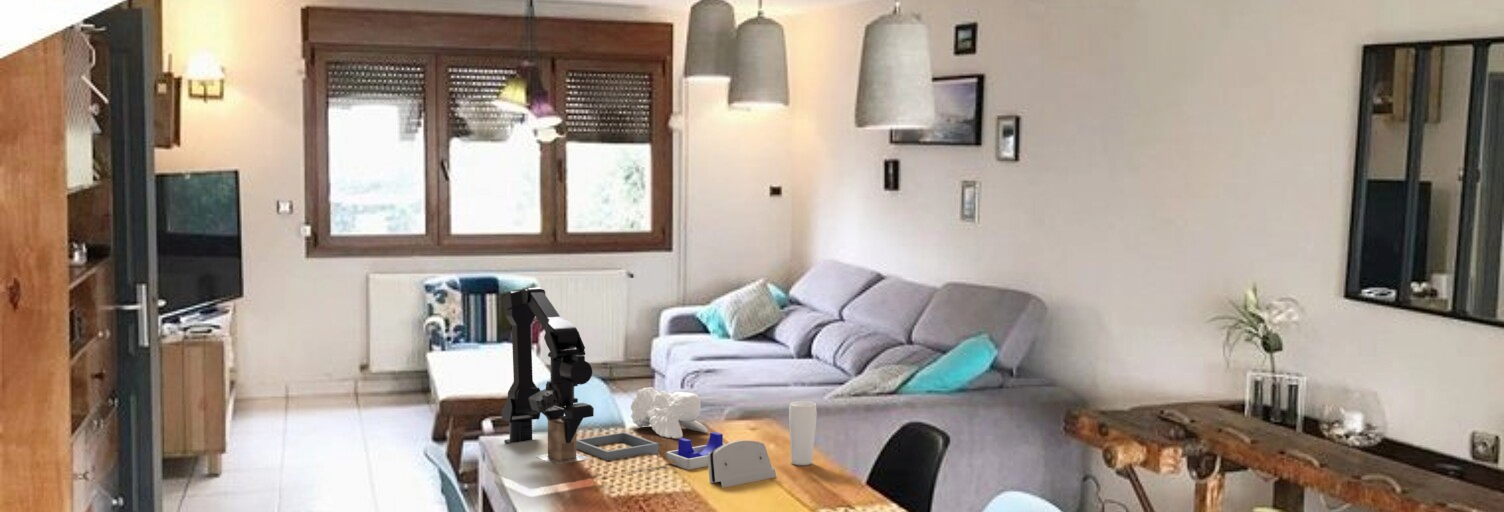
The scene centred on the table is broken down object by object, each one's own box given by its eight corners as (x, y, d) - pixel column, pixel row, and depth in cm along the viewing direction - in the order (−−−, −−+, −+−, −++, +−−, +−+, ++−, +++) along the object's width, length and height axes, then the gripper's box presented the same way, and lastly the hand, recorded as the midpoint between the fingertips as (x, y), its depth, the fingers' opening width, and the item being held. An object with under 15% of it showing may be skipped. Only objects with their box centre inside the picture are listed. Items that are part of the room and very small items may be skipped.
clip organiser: (665, 461, 317) (665, 451, 317) (720, 452, 328) (720, 442, 328) (687, 469, 310) (687, 459, 310) (743, 459, 321) (743, 449, 321)
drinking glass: (782, 463, 318) (783, 403, 317) (800, 458, 323) (801, 399, 322) (803, 468, 314) (804, 407, 312) (821, 463, 319) (822, 403, 317)
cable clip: (690, 466, 314) (690, 442, 314) (678, 462, 318) (678, 438, 317) (726, 458, 323) (726, 435, 322) (714, 455, 326) (714, 431, 325)
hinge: (722, 487, 295) (713, 444, 297) (710, 490, 299) (702, 447, 300) (777, 476, 306) (769, 434, 307) (765, 479, 309) (757, 438, 311)
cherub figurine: (664, 384, 362) (714, 387, 348) (666, 429, 362) (716, 433, 348) (629, 389, 353) (678, 392, 339) (630, 434, 352) (680, 439, 339)
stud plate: (533, 462, 315) (533, 442, 315) (569, 456, 321) (569, 436, 321) (554, 470, 307) (554, 450, 307) (590, 464, 314) (590, 444, 313)
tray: (573, 453, 324) (574, 439, 324) (624, 445, 334) (624, 432, 333) (606, 466, 312) (606, 452, 312) (658, 457, 322) (658, 443, 322)
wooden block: (547, 456, 314) (547, 420, 313) (565, 453, 318) (565, 417, 317) (559, 460, 311) (559, 423, 310) (577, 457, 314) (577, 421, 313)
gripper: (513, 375, 314) (513, 438, 315) (556, 387, 300) (555, 453, 302) (551, 370, 321) (551, 432, 323) (595, 382, 308) (594, 446, 309)
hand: (562, 440), depth 314 cm, fingers closed on wooden block, 5 cm apart
